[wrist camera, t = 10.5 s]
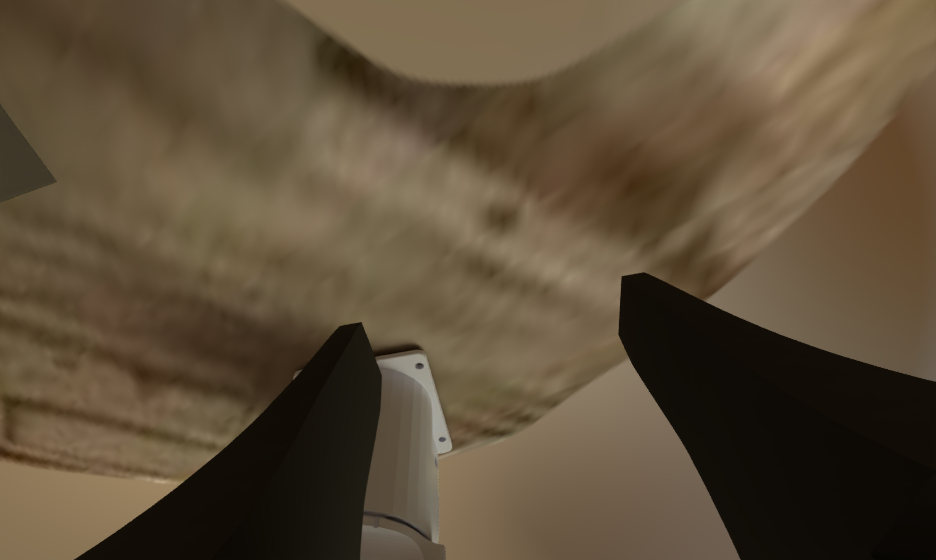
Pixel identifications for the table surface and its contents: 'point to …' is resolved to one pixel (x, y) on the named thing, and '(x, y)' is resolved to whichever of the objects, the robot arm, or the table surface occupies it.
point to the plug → (18, 162)
